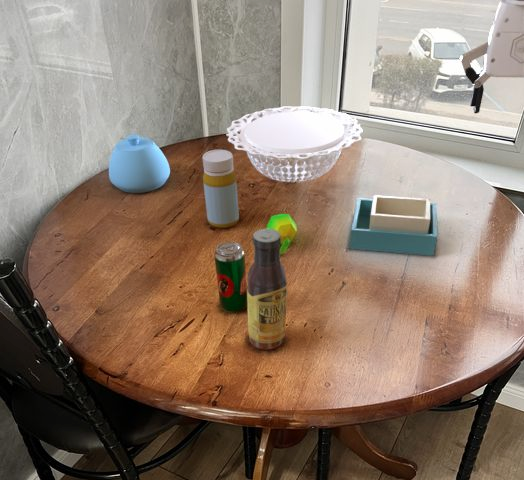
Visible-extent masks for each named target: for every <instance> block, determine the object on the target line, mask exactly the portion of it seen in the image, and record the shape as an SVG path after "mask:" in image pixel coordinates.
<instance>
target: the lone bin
mask: <svg viewBox="0 0 524 480" xmlns="http://www.w3.org/2000/svg"><path fill="white" fill-rule="evenodd" d="M372 199H373V203H372V209H371V216H370V225H369V229H371V230H384V231H396V232H409V233H421V234H428V229H429V224H430V203H431V199H430V198H421V197H420V198H419V197H405V196H404V197H403V196H389V195H377V194H374V195H373V196H372Z"/></svg>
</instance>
